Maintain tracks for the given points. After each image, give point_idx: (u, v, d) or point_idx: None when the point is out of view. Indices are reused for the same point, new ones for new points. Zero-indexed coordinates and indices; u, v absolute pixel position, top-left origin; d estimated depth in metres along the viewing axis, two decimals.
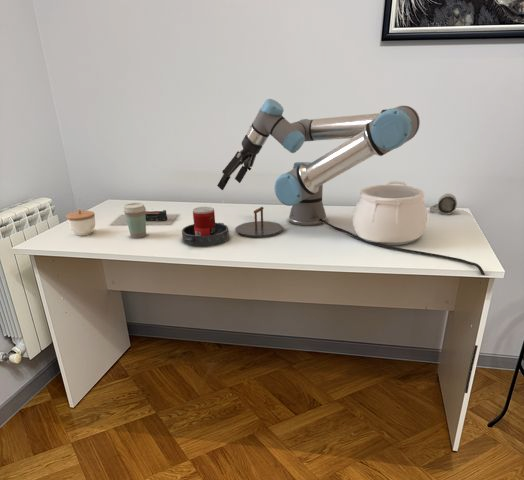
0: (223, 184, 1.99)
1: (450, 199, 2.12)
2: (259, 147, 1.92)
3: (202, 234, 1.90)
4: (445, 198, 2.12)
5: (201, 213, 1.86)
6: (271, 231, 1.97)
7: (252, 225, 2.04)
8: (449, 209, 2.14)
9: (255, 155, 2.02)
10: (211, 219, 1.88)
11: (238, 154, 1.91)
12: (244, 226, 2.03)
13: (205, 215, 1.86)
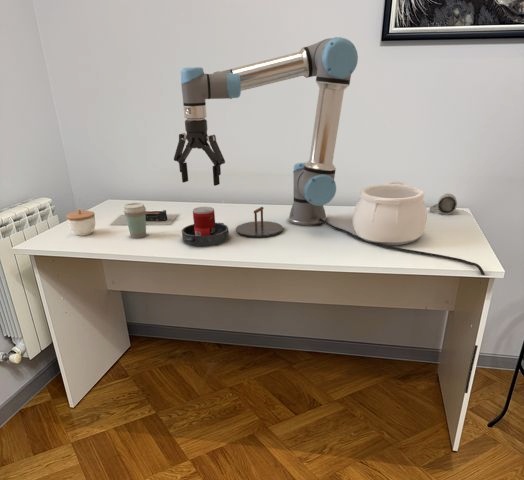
0: (218, 177, 1.81)
1: (450, 199, 2.12)
2: None
3: (202, 234, 1.90)
4: (445, 198, 2.12)
5: (201, 213, 1.86)
6: (271, 231, 1.97)
7: (252, 225, 2.04)
8: (449, 209, 2.14)
9: None
10: (211, 219, 1.88)
11: (213, 137, 1.74)
12: (244, 226, 2.03)
13: (205, 215, 1.86)
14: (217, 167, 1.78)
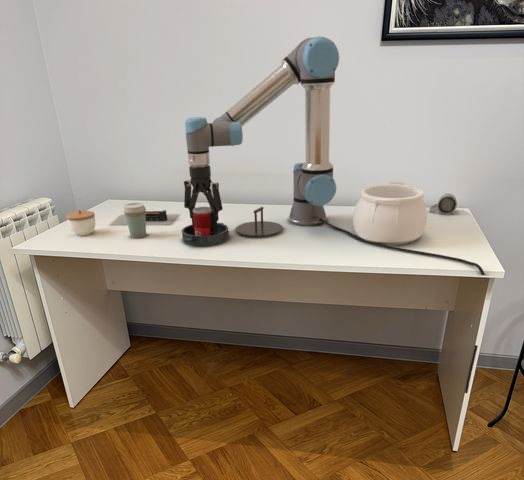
0: (216, 223, 1.90)
1: (450, 199, 2.12)
2: None
3: (202, 234, 1.90)
4: (445, 198, 2.12)
5: (201, 213, 1.86)
6: (271, 231, 1.97)
7: (252, 225, 2.04)
8: (449, 209, 2.14)
9: None
10: None
11: (216, 185, 1.81)
12: (244, 226, 2.03)
13: (205, 215, 1.86)
14: (215, 214, 1.87)
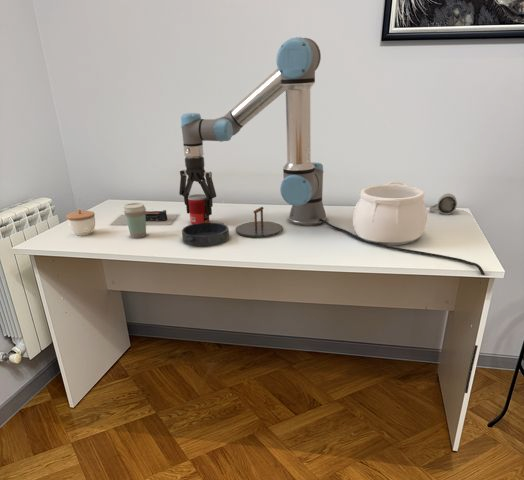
0: (210, 209, 2.09)
1: (450, 199, 2.12)
2: None
3: (196, 219, 2.09)
4: (445, 198, 2.12)
5: (195, 199, 2.05)
6: (271, 231, 1.97)
7: (252, 225, 2.04)
8: (449, 209, 2.14)
9: None
10: (205, 205, 2.07)
11: (209, 174, 2.00)
12: (244, 226, 2.03)
13: (199, 202, 2.05)
14: (209, 200, 2.05)
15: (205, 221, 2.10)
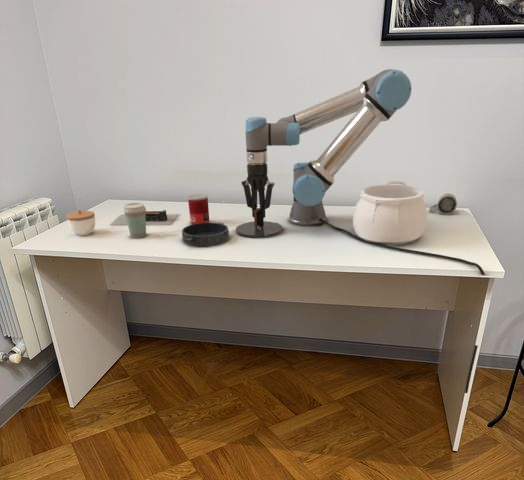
0: (262, 219, 2.00)
1: (450, 199, 2.12)
2: None
3: (196, 219, 2.09)
4: (445, 198, 2.12)
5: (195, 199, 2.05)
6: (271, 231, 1.97)
7: (252, 225, 2.04)
8: (449, 209, 2.14)
9: None
10: (205, 205, 2.07)
11: (272, 185, 1.90)
12: (244, 226, 2.03)
13: (199, 202, 2.05)
14: (262, 211, 1.96)
15: (205, 221, 2.10)
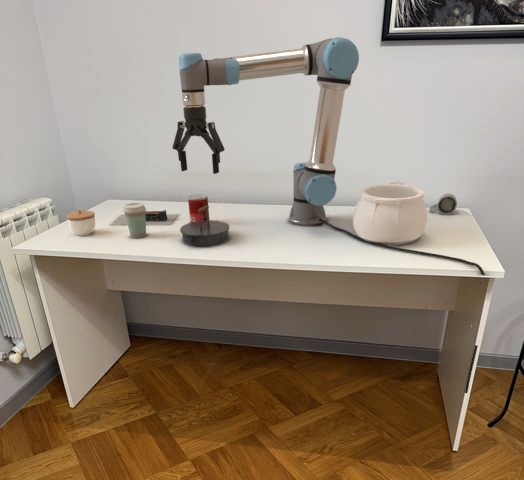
0: (217, 165, 1.79)
1: (450, 199, 2.12)
2: None
3: (196, 219, 2.09)
4: (445, 198, 2.12)
5: (195, 199, 2.05)
6: (216, 231, 1.88)
7: (198, 225, 1.96)
8: (449, 209, 2.14)
9: None
10: (205, 205, 2.07)
11: (212, 124, 1.71)
12: (190, 226, 1.95)
13: (199, 202, 2.05)
14: (216, 155, 1.75)
15: None
